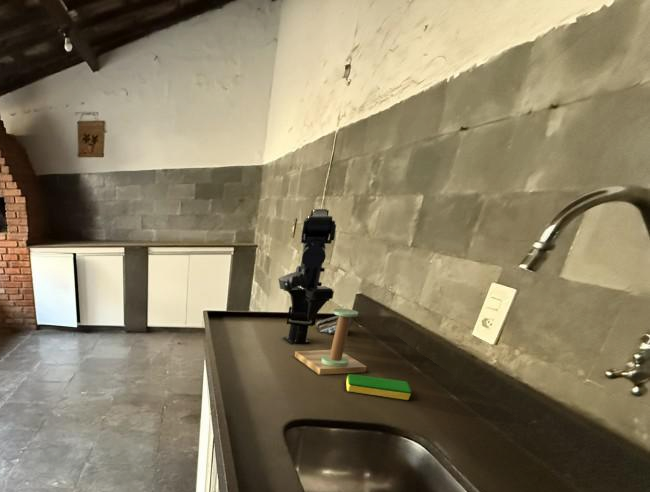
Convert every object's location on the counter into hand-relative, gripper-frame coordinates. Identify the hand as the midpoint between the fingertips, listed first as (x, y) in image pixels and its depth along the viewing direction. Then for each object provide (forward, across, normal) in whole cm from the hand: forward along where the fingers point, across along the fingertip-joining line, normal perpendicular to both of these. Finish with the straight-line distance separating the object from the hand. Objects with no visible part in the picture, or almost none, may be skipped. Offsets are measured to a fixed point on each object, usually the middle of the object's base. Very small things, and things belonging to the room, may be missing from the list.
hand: (301, 316), depth 127 cm
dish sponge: (+13, +27, +9) cm, 31 cm away
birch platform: (+13, +8, +7) cm, 17 cm away
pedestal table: (+11, +11, +7) cm, 17 cm away
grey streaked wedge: (+13, -23, +26) cm, 37 cm away
